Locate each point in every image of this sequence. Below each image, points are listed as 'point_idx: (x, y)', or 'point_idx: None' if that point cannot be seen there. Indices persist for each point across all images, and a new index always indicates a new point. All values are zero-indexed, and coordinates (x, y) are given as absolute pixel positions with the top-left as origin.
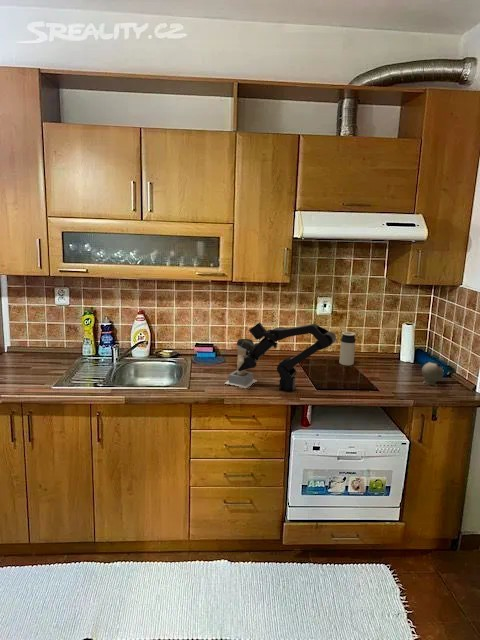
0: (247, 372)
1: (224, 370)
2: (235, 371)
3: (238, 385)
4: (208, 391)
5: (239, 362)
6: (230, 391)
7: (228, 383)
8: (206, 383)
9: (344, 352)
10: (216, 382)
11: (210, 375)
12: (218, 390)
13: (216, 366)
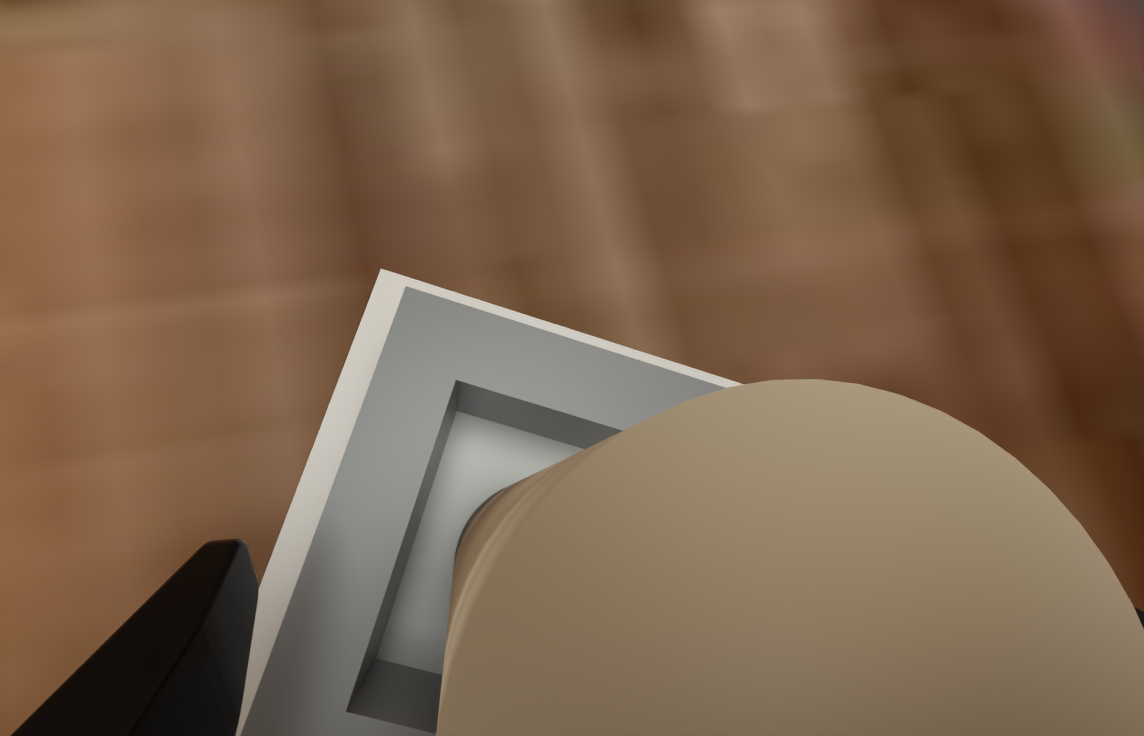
0: None
1: (1031, 202)
2: None
3: (286, 556)
4: (8, 62)
5: (463, 576)
6: (44, 436)
7: (371, 341)
8: (404, 5)
9: None
10: (484, 143)
11: (763, 33)
12: (80, 216)
13: (1132, 80)
